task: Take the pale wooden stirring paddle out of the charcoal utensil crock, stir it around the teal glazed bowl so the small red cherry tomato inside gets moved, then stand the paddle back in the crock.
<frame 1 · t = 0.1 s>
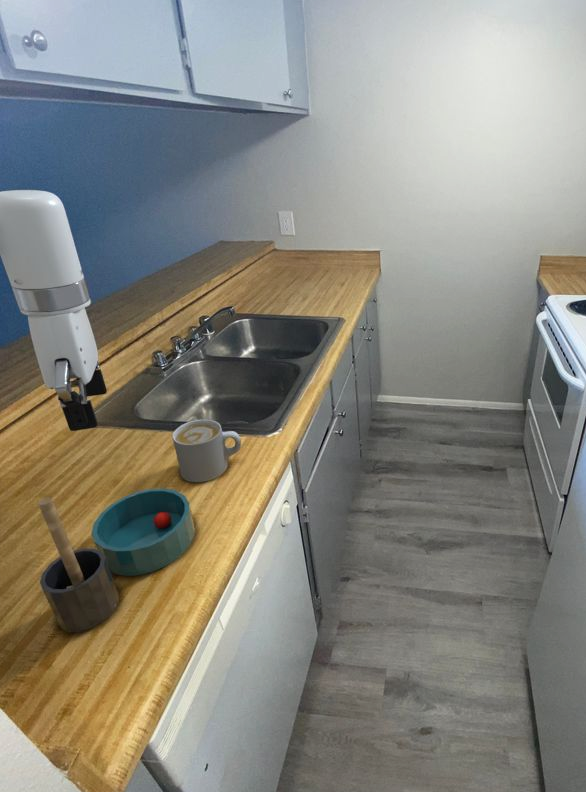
hand: (90, 410, 68), 32 cm above the worktop, tool pointing down, fingers open, 9 cm apart
crock: (89, 608, 75), on the worktop
paddle: (88, 606, 75), resting on crock
coffee mug: (212, 468, 108), on the worktop
bowl: (149, 541, 88), on the worktop
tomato: (162, 520, 90), point 2 cm above the worktop, touching bowl
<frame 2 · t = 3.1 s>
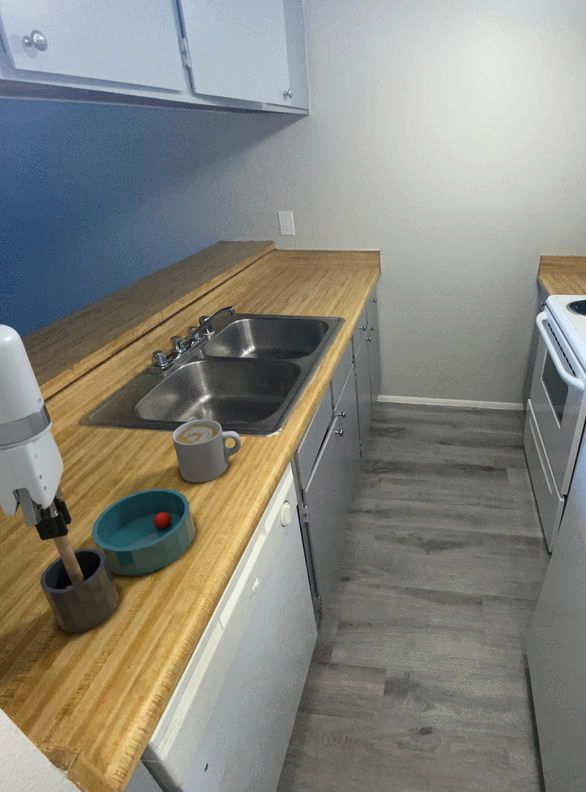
hand: (57, 530, 67), 17 cm above the worktop, tool pointing down, fingers closed on paddle, 1 cm apart
paddle: (88, 606, 75), point 1 cm above the worktop, touching gripper
everything else where it was.
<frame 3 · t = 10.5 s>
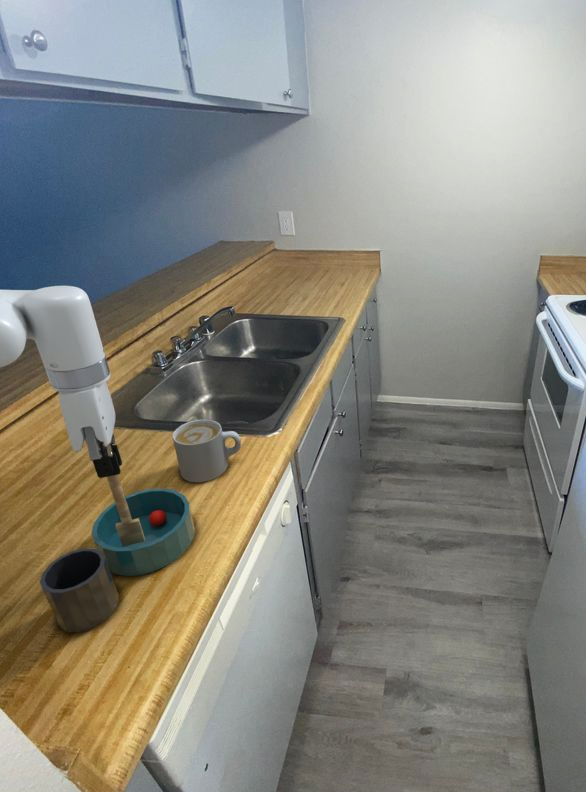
hand: (110, 470, 78), 18 cm above the worktop, tool pointing down, fingers closed on paddle, 1 cm apart
paddle: (133, 542, 85), point 2 cm above the worktop, touching gripper
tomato: (157, 518, 90), point 2 cm above the worktop, tilted 39°, touching bowl
everything else where it was.
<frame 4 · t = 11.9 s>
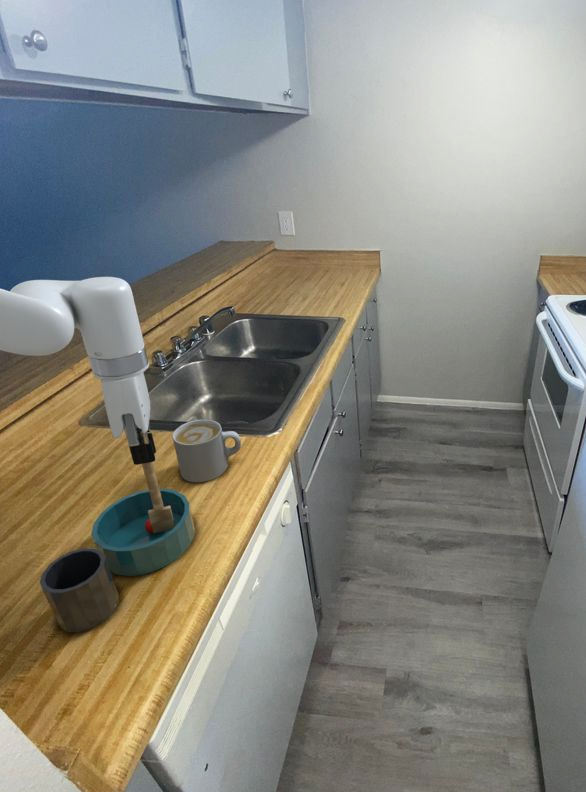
hand: (145, 457, 80), 19 cm above the worktop, tool pointing down, fingers closed on paddle, 1 cm apart
paddle: (164, 529, 88), point 2 cm above the worktop, touching gripper
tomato: (154, 525, 89), point 2 cm above the worktop, tilted 45°, touching bowl
everything else where it was.
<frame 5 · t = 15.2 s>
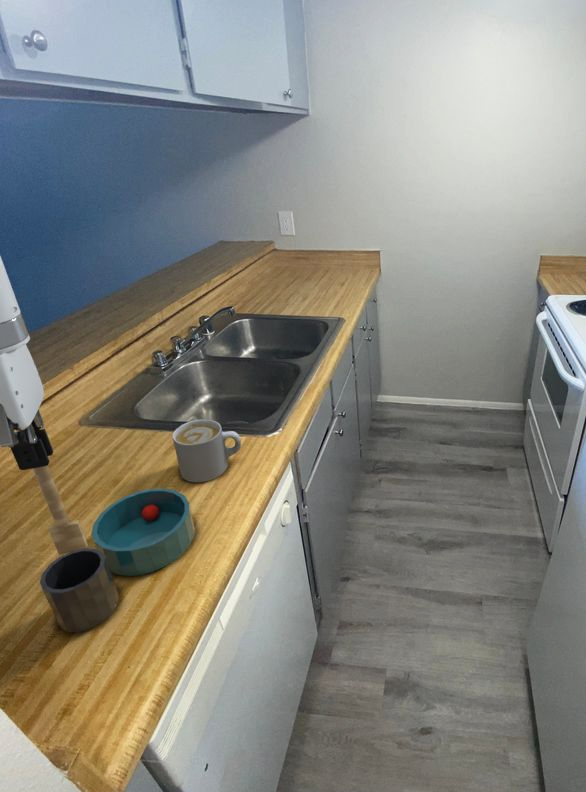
hand: (37, 460, 63), 29 cm above the worktop, tool pointing down, fingers closed on paddle, 1 cm apart
paddle: (73, 549, 71), point 12 cm above the worktop, touching gripper
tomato: (150, 512, 92), point 2 cm above the worktop, tilted 116°, touching bowl
everything else where it was.
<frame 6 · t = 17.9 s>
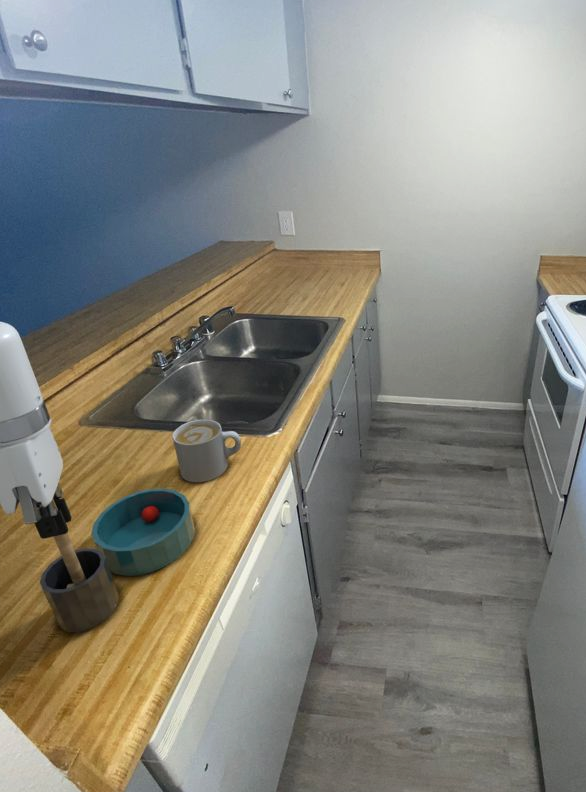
hand: (57, 528, 67), 17 cm above the worktop, tool pointing down, fingers closed on paddle, 1 cm apart
paddle: (89, 604, 75), point 1 cm above the worktop, touching gripper
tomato: (150, 513, 91), point 2 cm above the worktop, tilted 108°, touching bowl
everything else where it was.
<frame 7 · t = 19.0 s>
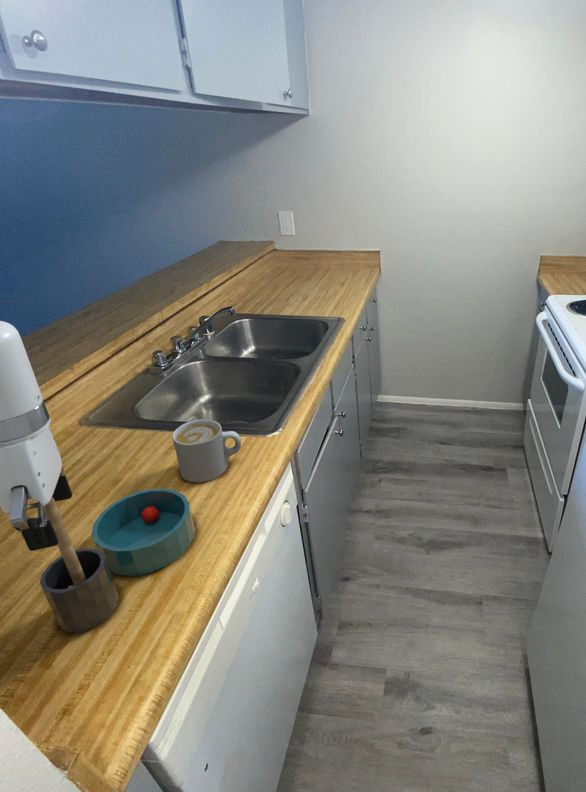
hand: (52, 521, 67), 19 cm above the worktop, tool pointing down, fingers open, 9 cm apart
paddle: (90, 606, 75), resting on crock
everything else where it was.
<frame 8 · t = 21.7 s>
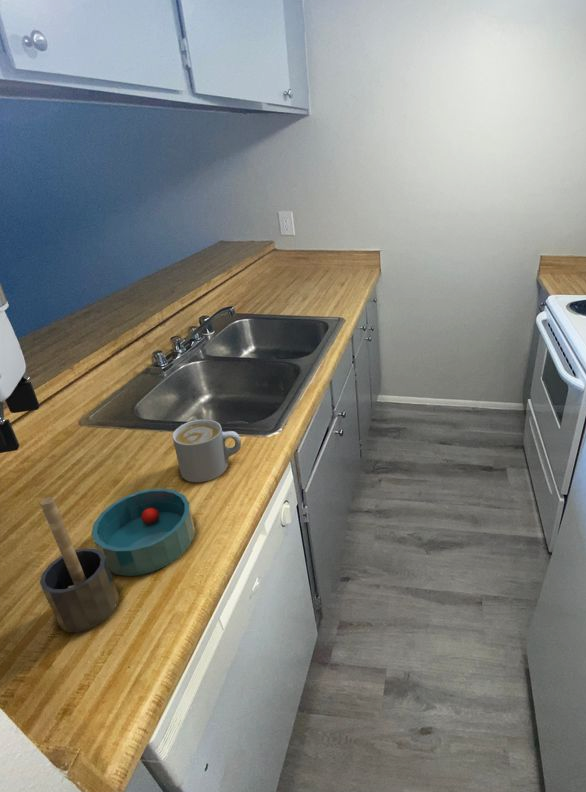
hand: (15, 429, 59), 34 cm above the worktop, tool pointing down, fingers open, 9 cm apart
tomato: (150, 515, 91), point 2 cm above the worktop, tilted 95°, touching bowl
everything else where it was.
at the end: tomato moved 3.0 cm from its start; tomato inside the target area in the bowl (4.6 cm from its centre), point 2.1 cm above the bowl's base; paddle 0.2 cm off-centre in the crock, point 0.5 cm above the crock's base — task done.
